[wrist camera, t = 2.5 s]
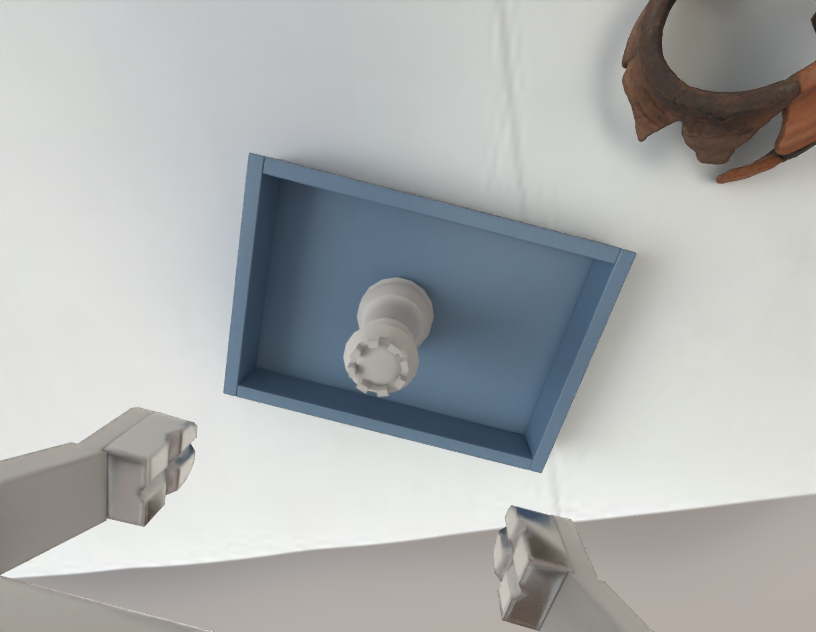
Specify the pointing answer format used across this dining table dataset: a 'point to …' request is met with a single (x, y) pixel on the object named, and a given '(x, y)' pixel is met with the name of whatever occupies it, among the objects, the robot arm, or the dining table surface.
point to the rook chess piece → (388, 336)
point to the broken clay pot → (714, 103)
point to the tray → (451, 300)
